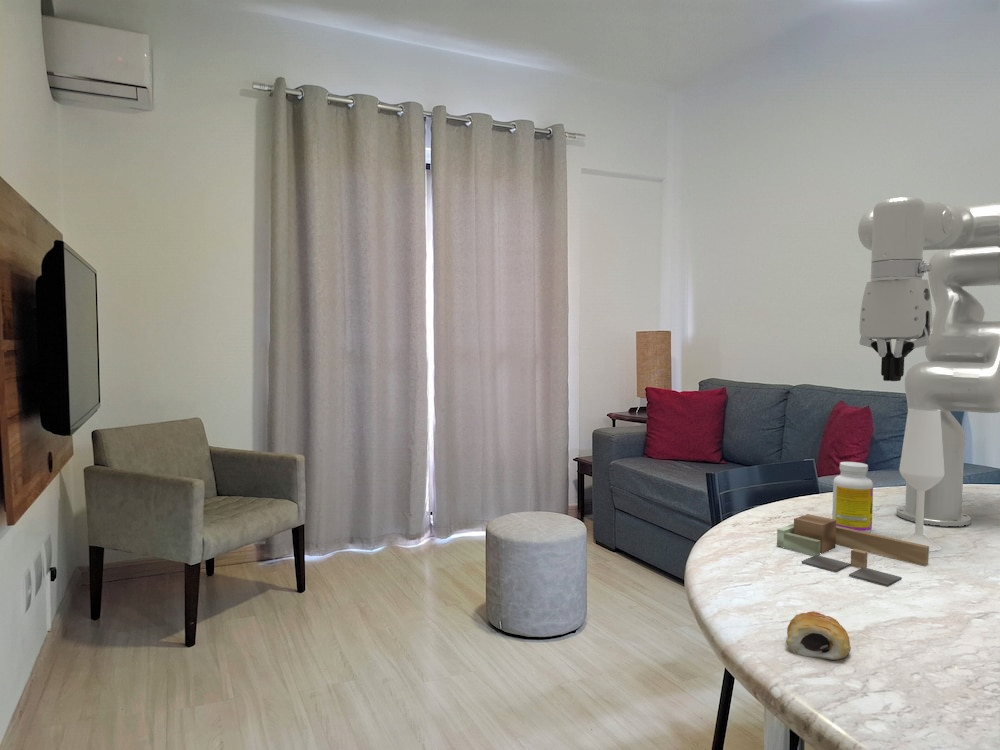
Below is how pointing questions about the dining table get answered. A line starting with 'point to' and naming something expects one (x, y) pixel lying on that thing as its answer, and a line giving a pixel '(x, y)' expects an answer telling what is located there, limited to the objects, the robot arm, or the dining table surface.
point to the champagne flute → (922, 462)
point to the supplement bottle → (853, 497)
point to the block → (817, 530)
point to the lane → (856, 552)
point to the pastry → (817, 636)
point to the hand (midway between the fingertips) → (892, 380)
